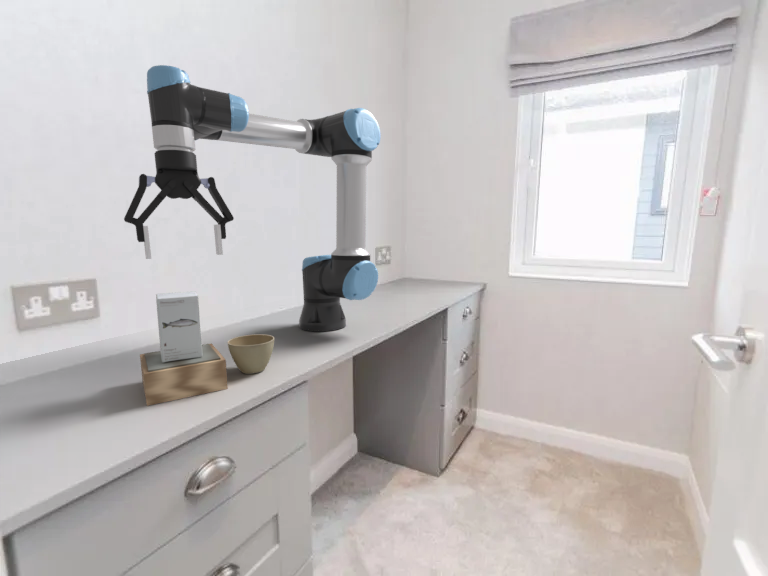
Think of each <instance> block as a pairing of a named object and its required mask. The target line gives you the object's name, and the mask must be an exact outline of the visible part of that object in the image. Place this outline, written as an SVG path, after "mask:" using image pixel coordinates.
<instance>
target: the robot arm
mask: <svg viewBox="0 0 768 576" xmlns="http://www.w3.org/2000/svg"><path fill="white" fill-rule="evenodd" d="M146 87H147V88H146V94H147V97H148V104H149V105H148V106H149V114H150V122H151V130H152V131H151V132H152V133H151V134H152V141H153V143H152V144H153V148H154V149H155V150H156V151H155V152H154V162H155V171H156V173H155V176H152V175H146V174H145V173H141V174H140V175H139V177H138V187H137V189H136V191H135V192H134V193H135V194H134V196H133V198H132V200H131V203H130V204H129V207H128V209H127V211H126V213H125V215H124V218H123V220H124V222H125V223H128V224H131V225H134V226H135V233H136V240H137V241H138V243H143V246H144V253H145V259H146V260H152V251H151V243H150V235H149V226H148V225H144V223H145V222H146V221H147V220H148V219H149V218H150V216H151V215H152V214H153V213H154V212H155V210H156V209H157V208H158V207H159V206H160V204H161V203H162V202H163V201H164V200H165V199H166V197H167V198H168V199H169V198H170V199H171V200H172V199H183V200H188V199H191V198H192V200H194V201H195V202H197V204H198V205H199V206H201V208H202V209H203V210H204V211H205V212H206V213H207V214H208V215H209V216H210V217H211V218H212V220H214V221H215V222H216V223H217V224H213V230H214V232H213V233H214V242H215V244H214V245H215V252H216V253H215V254H216V256H217V255H219V256H222V255H224V254H223V253H224V252H223V242H222V241H223V240H226V239H227V231H226V230H227V229H226V224H227V223H230V222H231V221H234V219H235V218H234V216H233V214H232V212H231V211H230V209H229V207H228V206H227V204H226V202H225V200H224V199H223V197H222V195H221V193H220V192H219V190H218V188H217V186H216V185H217V184H216V180H215V177H212V176H210V177H205V178H200V177H199V172H198V164H197V155H196V154H195V153H194V152H195V151H196V142H195V141H197V140H209V141H221V142H229V143H238V144H247V145H248V144H249V145H256V146H263V147H264V146H266V147H274V148H281V149H282V148H284V149H292V150H295V151H296V152H297V153H298V154H303V155H304V154H305V155H311V156H312V155H313V156H320V157H327V158H331V161H333V163H334V164H335V166H336V225H335V226H336V232H335V233H336V234H335V236H336V238H335V239H336V241H335V242H336V246H335V247H336V248H335V249H334V250H333V252H331V254H322V255H314V256H306V257H305V258H304V259H303V260H302V266H301V267H302V268H301V273H302V289H303V290H302V292H303V304H302V305H303V306H302V310H301V312H300V316H299V320H298V326H299V329H300V330H303V331H306V332H332V331H336V330H341V329H344V328H345V327H346V326H347V319H346V315H345V313H344V309H343V308H342V307H343V306H342V305H341V299H345V300H349V301H362V300H365V299H367V298H369V297H370V296H371V295H372V293H373V292H375V290H376V287H377V285H378V280H379V271H378V268H377V267H376V265H375V263H374V262H372V261H371V254H370V252H369V251H368V250H367V248H366V236H367V235H366V231H367V230H366V226H367V223H366V222H367V221H366V220H367V219H366V218H367V216H366V215H367V166H368V165H369V164H370V163H371V162H372V160H373V159H372V158H373V156H372V155H373V153H372V152H373V151H374V150H375V149H377V147H378V146H379V145H380V143H381V128H380V125H379V123H378V121H377V119H376V118H375V116H374V114H372V113H371V112H370V111H369V110H368V109H366V108H363V107H356V108H348V109H346V110H345V111H344V110H343V111H341V112H338V113H333V114H331V115H327V116H324V117H321V118H320V117H319V118H315V119H306V118H305V119H304V118H299V119H298V120H296V121H295V120H290V119H283V118H277V117H273V116H265V115H259V114H254V113H249V106H248V103H247V102H246V101H245V99H244V98H242V97H240V96H237V95H235V94H231V93H230V92H222V91H218V90H215V89H214V90H213V89H210V88H205V87H200V86H197V85H194V84H191V81H190V76H189V74H188V73H187V72H186V71H185V70H183V69H181V68H179V67H176V66H171V65H164V64H163V65H162V64H161V65H160V64H158V65H153V66H152V67H150V68H149V69H148V70H147V72H146ZM153 183H155V185H156V186H157V187H158V188H159V189H160V191H159V192H158V193H157V195H156V196H155V197H154V199H153V200H152V201H151V202H150V203H149V204H148V205H147V207H146V208H145V209H144V210H143V211H142V213H141V214H140V215H139V216H138V217H137V218H136V217H135V214H136V212H137V210H138V209H139V205H140V204H141V202H142V199H143V196H144V194H145V192H146V190H147V187H148V188H149V187H151V185H152V184H153ZM201 185H202V186H203V187H204V189H207V191H208V193H209V194H210V196H211V198H212V199H213V201H214V202H215V205H216V206H217V208H218V209H219V211H220V212H221V214H222V215H221V214H220V213H219V212H218V211H217V210H216V209H215V207H214V206H213V205H212V204H211V203H210V202H209V201H208V200H206V199H205V197H204V196H203V195H202V194H201V193H200V192H199V191H198V189H199V187H200V186H201Z"/></svg>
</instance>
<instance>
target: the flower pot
mask: <svg viewBox="0 0 768 576" xmlns="http://www.w3.org/2000/svg"><path fill="white" fill-rule="evenodd" d="M226 343H227V347H228V351H229V354H230V357H231V358H232V360H233V362H234V364H235V366H236V367H237V368H238V369H239V371H240V372H241V373H243V374H245V375H248V374H249V375H251V374H258V373H261V372H263V371H265V370H266V369H267V367H268V364H269V362H270V359H271V357H272V355H273V352H274V351H273V350H274V347H275V346H274V345H275V336H273V335H270V334H263V333H262V334H259V333H258V334H257V333H256V334H247V335H246V334H245V335H240V336H235V337H233V338H231V339H229V340H227V342H226Z"/></svg>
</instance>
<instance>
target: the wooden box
mask: <svg viewBox="0 0 768 576" xmlns="http://www.w3.org/2000/svg"><path fill="white" fill-rule="evenodd" d="M139 359H140V360H139V361H140V370H141V371H140V372H141V380H142V387H143V392H144V396H145V402H146V406H147V407H149V406H153V405H157V404H162V403H167V402H172V401H176V400H177V401H178V400H180V399H187V398H190V397H195V396H199V395H204V394H209V393H213V392H217V391H223V390H227V389H228V388H229V386H228V375H227V374H228V373H227V360H226V358H225V357H224V356H223V355H222V353H220V351H219V350H218V349H217V348H216V346H215V345H213V343H204V344H202V357H199V358H189V359H182V360H175V361H168V362H164V363H162V359H161V350H158V351H152V352H145V353H142V354H139Z"/></svg>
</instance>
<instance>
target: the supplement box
mask: <svg viewBox="0 0 768 576" xmlns="http://www.w3.org/2000/svg"><path fill="white" fill-rule="evenodd" d="M155 295H156V299H155V301H156V302H155V304H156V312H157V313H156V314H157V325H158V327H157V328H158V336H159V348H160V350H159V351H161V359H162V363H164V362H168V361H175V360H182V359H189V358H199V357H202V345H203V344H202V331H201V329H202V328H201V319H200V317H201V316H200V302H199V301H200V299H199V295H198V293H197V291H183V292H181V291H178V292H166V293H156V294H155Z"/></svg>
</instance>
